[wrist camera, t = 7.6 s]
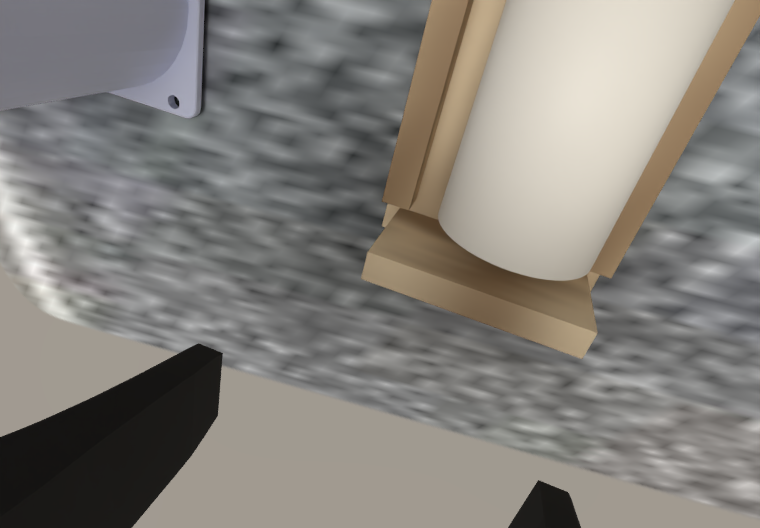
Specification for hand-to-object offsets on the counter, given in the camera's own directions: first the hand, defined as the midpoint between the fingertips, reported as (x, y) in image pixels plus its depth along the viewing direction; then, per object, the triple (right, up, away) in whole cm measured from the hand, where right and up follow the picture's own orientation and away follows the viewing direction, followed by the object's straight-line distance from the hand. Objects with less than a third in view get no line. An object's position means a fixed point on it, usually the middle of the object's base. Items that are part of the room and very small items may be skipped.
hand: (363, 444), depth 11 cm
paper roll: (+5, +8, +2) cm, 10 cm away
